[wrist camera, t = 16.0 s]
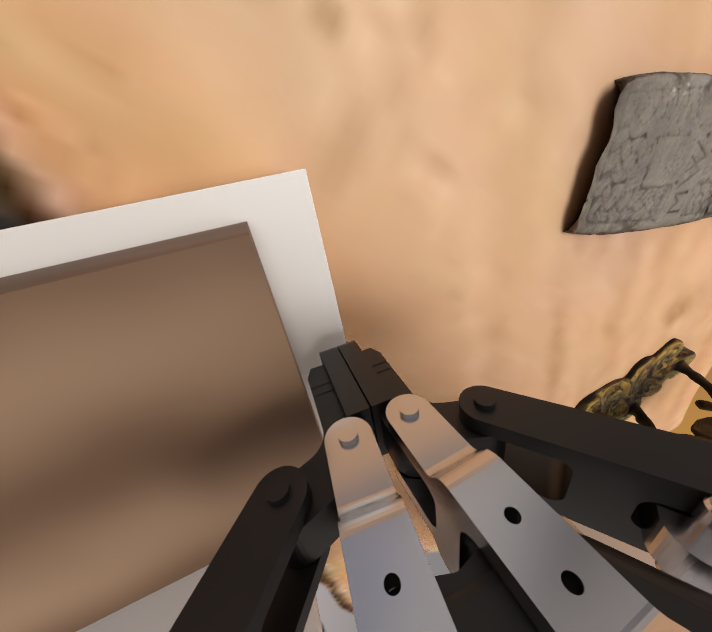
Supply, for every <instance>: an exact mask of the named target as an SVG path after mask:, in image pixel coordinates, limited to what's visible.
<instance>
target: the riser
mask: <svg viewBox="0 0 712 632" xmlns="http://www.w3.org/2000/svg"><path fill="white" fill-rule="evenodd" d="M246 221H247V223H248V226H249V228H250V231H251V234H252V237H253V240H254V243H255V245H256V248H257V251H258V254H259V257H260V260H261V262H262V265H263V268H264V271H265V274H266V277H267V280H268V282H269V285H270V288H271V291H272V294H273V297H274V299H275V302H276V305H277V308H278V311H279V314H280V316H281V319H282V322H283V325H284V328H285V331H286V333H287V336H288V339H289V342H290V345H291V348H292V351H293V353H294V356H295V359H296V362H297V365H298V368H299V370H300V373H301V376H302V379H303V382H304V385H305V387H306V390H307V393H308V396H309V399H310V402H311V404H312V407H313V410H314V413H315V416H316V419H317V422H318V424H319V427H320V430H321V433H322V436H323V428H322V425H321V422H320V418H319V415H318V412H317V408H316V405H315V402H314V398H313V395H312V392H311V389H310V385H309V382H308V376H309V372H310V369H312V368H315V367H318V366H321V365H322V362H321V359H320V355H319V352H322V351H325V350H328V349H331V348H334V347H337V346H340V345H343V344H346V343H347V342H346V338H345V334H344V330H343V326H342V321H341V317H340V313H339V309H338V304H337V300H336V296H335V292H334V288H333V283H332V279H331V275H330V271H329V267H328V262H327V258H326V254H325V250H324V245H323V241H322V237H321V233H320V229H319V224H318V220H317V216H316V212H315V207H314V203H313V199H312V195H311V191H310V186H309V182H308V178H307V174H306V170H305V169H300V170H295V171H290V172H285V173H280V174H275V175H270V176H265V177H260V178H255V179H250V180H245V181H240V182H235V183H231V184H226V185H221V186H216V187H211V188H206V189H201V190H196V191H191V192H186V193H181V194H176V195H171V196H166V197H161V198H156V199H151V200H146V201H141V202H136V203H132V204H127V205H122V206H117V207H112V208H107V209H102V210H97V211H92V212H87V213H82V214H77V215H72V216H67V217H62V218H57V219H52V220H47V221H42V222H37V223H33V224H28V225H23V226H18V227H13V228H8V229H3V230H0V278H1V277H6V276H10V275H14V274H19V273H23V272H27V271H32V270H36V269H41V268H45V267H49V266H54V265H58V264H62V263H67V262H71V261H75V260H80V259H84V258H88V257H93V256H97V255H102V254H106V253H110V252H115V251H119V250H123V249H128V248H132V247H136V246H141V245H145V244H150V243H154V242H158V241H163V240H167V239H171V238H176V237H180V236H184V235H189V234H193V233H198V232H202V231H206V230H211V229H215V228H219V227H224V226H228V225H232V224H237V223H241V222H246Z"/></svg>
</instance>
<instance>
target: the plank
mask: <svg viewBox="0 0 712 632" xmlns="http://www.w3.org/2000/svg"><path fill="white" fill-rule="evenodd" d="M322 441H323V436H322V433H321V430H320V427H319V424H318V422H317V419H316V416H315V413H314V410H313V407H312V404H311V402H310V399H309V396H308V393H307V390H306V387H305V385H304V382H303V379H302V376H301V373H300V370H299V368H298V365H297V362H296V359H295V356H294V353H293V351H292V348H291V345H290V342H289V339H288V336H287V333H286V331H285V328H284V325H283V322H282V319H281V316H280V314H279V311H278V308H277V305H276V302H275V299H274V297H273V294H272V291H271V288H270V285H269V282H268V280H267V277H266V274H265V271H264V268H263V265H262V262H261V260H260V257H259V254H258V251H257V248H256V245H255V243H254V240H253V237H252V234H251V231H250V228H249V226H248V223H247V221H246V222H241V223H237V224H232V225H228V226H224V227H219V228H215V229H211V230H206V231H202V232H198V233H193V234H189V235H184V236H180V237H176V238H171V239H167V240H163V241H158V242H154V243H150V244H145V245H141V246H136V247H132V248H128V249H123V250H119V251H115V252H110V253H106V254H102V255H97V256H93V257H88V258H84V259H80V260H75V261H71V262H67V263H62V264H58V265H54V266H49V267H45V268H41V269H36V270H32V271H27V272H23V273H19V274H14V275H10V276H6V277H1V278H0V632H77V631H79V630H81V629H83V628H85V627H87V626H89V625H91V624H93V623H95V622H96V621H98V620H100V619H102V618H104V617H106V616H108V615H110V614H112V613H114V612H116V611H118V610H120V609H122V608H124V607H126V606H128V605H130V604H132V603H134V602H136V601H138V600H140V599H142V598H144V597H146V596H148V595H150V594H152V593H154V592H156V591H158V590H160V589H162V588H164V587H166V586H168V585H170V584H172V583H174V582H176V581H178V580H180V579H182V578H184V577H186V576H188V575H190V574H192V573H194V572H196V571H198V570H200V569H202V568H204V567H206V566H208V565H209V564H210V563H211V561H212V559H213V558H214V556H215V554H216V553H217V551H218V549H219V548H220V546H221V544H222V543H223V541H224V539H225V538H226V536H227V534H228V533H229V531H230V529H231V528H232V526H233V524H234V523H235V521H236V519H237V518H238V516H239V514H240V513H241V511H242V509H243V508H244V506H245V504H246V503H247V501H248V499H249V498H250V496H251V494H252V493H253V491H254V489H255V488H256V486H257V485H258V483H259V482H260V481H261V479H262V478H263V477H264V476H265V475H267V474H268V473H269V472H271V471H272V470H274V469H276V468H278V467H282V466H294V467H297V468H300V467H301V466H302V465H304V464H305V463H306V462H307V461H308V460H310V459H311V458H312V457H313V456H314V455H315V454H316V453H317V451H318V450H319V448H320V446H321V444H322Z"/></svg>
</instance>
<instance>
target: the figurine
mask: <svg viewBox="0 0 712 632" xmlns="http://www.w3.org/2000/svg"><path fill="white" fill-rule="evenodd" d="M683 346H684V344H683V342H682V341H681V340H679V339H676V338H674V339H672V340H670V341H669V342H668V343H667V344H666V345H664V346H663V347H662V348H661V349H660V350H658V351H657V352H656V353H655V355H653V356H648V357H645V358H643V359H642V360H640V361H639V362H638V363H637V364H636V365H635V366H634V367H633V368H632V369H631V370H630V372H629V373H628V374H627V375H626V376H625V377H623V378H620V379H617V380H614V381H612V382H610V383H608V384H607V385H605V386H603V387H602V388H600V389H598V390H597V391H595V392H594V393H592V394H590V395H589V396H587V397H586V398H585V399H583V400H582V401H581V402H580V403H579V404H578V405H577V406H576V409H580V410H584V411H588V412H592V413H596V414H600V415H604V416H608V417H612V418H616V419H620V420H624V421H626V420H627V419H628V418H630V417H631V416H632V415H633V416H635V417H636V418H635V420H636V422H637V423H639V424H640V425H644V426H648V427H652V428H656V427H655V425H654V424H653V422H652V421H651V420H650V419H649V418H648V417H647V415H646V414H645V413H644V411H643V410H642V409H641V407H640V405H641V397H642V396H651V395H653V394H655V393H656V392H658V391H659V390H660V389H661V387H662V383H663V382H664V381H665V380H667V379H671V378H673V377H675V376H676V375H678V374H679V373H680V372H681V373H684V374H686V375H687V376H688V377H689V378H690V379H691V380H693V381H694V382H696V383H697V384H699V385H700V386H702V387H703V388H704V389H705V390H706V391H707V392H708V394H709V395H710V396H711V398H712V384H711V383H710V382H709V381H707V380H706V379H705V378H704V377H703V376H702V375H701V374H699V373H697V372H695V371H693V370H692V369H691V368H690V366H689V365H688V364H690V363H691V362H692V361H693V360H694V358H695V356H696V354H695V352H693V351H691V350H689V349H687V348H686V347H683ZM695 404H696V406H697V407H698V408H699V409H702V410H708V411H712V403H711V402H709V401H704V400H698V401H696V402H695ZM691 431H692V432H693V434H694V435H695V436H693V435H688V434H680V435H684V436H688V437H692V438H696V439H700V440H704V441H708V442H712V417H707V418H703V419H699V420H697V421H696V422H695V423H694V424H693V425H692V426H691Z"/></svg>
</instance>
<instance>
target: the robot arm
mask: <svg viewBox="0 0 712 632" xmlns="http://www.w3.org/2000/svg"><path fill="white" fill-rule="evenodd" d="M319 355H320V359H321V362H322V365H321V366H318V367H315V368H312V369H310V372H309V376H308V382H309V385H310V389H311V392H312V395H313V398H314V402H315V405H316V408H317V412H318V415H319V418H320V422H321V425H322V428H323V441H322V444H321V446H320V448H319V450H318V451H317V453H316V454H315V455H314V456H313V457H312V458H311V459H310V460H308V461H307V462H306V463H305V464H304V465H302V466H301V467H300V468H297V467H294V466H282V467H278V468H276V469H274V470H272V471H271V472H269V473H268V474H267V475H265V476H264V477H263V478H262V479H261V481H260V482H259V483H258V485H257V486H256V488H255V489H254V491H253V493H252V494H251V496H250V498H249V499H248V501H247V503H246V504H245V506H244V508H243V509H242V511H241V513H240V514H239V516H238V518H237V519H236V521H235V523H234V524H233V526H232V528H231V529H230V531H229V533H228V534H227V536H226V538H225V539H224V541H223V543H222V544H221V546H220V548H219V549H218V551H217V553H216V554H215V556H214V558H213V559H212V561H211V563H210V564H209V566H208V568H207V569H206V571H205V573H204V574H203V576H202V578H201V579H200V581H199V583H198V584H197V586H196V588H195V589H194V591H193V593H192V594H191V596H190V598H189V599H188V601H187V603H186V604H185V606H184V608H183V609H182V611H181V613H180V614H179V616H178V618H177V619H176V621H175V623H174V624H173V626H172V628H171V629H170V631H169V632H303V631H304V628H305V625H306V622H307V619H308V616H309V613H310V610H311V607H312V604H313V601H314V597H315V594H316V591H317V588H318V585H319V582H320V579H321V576H322V573H323V570H324V567H325V564H326V561H327V557H328V554H329V551H330V546H331V545H332V544H333V543H334V542H335V540H336V539H337V538H338V537H339V536H340V541H341V546H342V551H343V557H344V562H345V567H346V573H347V578H348V583H349V589H350V594H351V599H352V605H353V610H354V615H355V620H356V626H357V631H358V632H712V442H708V441H704V440H700V439H696V438H692V437H688V436H684V435H680V434H676V433H672V432H668V431H664V430H660V429H656V428H652V427H648V426H644V425H640V424H636V423H632V422H628V421H624V420H620V419H616V418H612V417H608V416H604V415H600V414H596V413H592V412H588V411H584V410H580V409H576V408H572V407H568V406H564V405H560V404H556V403H551V402H547V401H543V400H539V399H535V398H531V397H527V396H523V395H519V394H515V393H511V392H507V391H503V390H499V389H495V388H491V387H487V386H472V387H469V388H467V389H465V390H464V391H463V392H462V393H461V394H460V397H459V401H454V402H445V403H430V402H428V401H427V400H426V399H424V398H423V397H421V396H418V395H414V394H412V393H411V391H410V390H409V389H408V387H407V386H406V385H405V384H404V382H403V381H402V380H401V379H400V377H399V376H398V375H397V373H396V372H395V371H394V370H393V369H392V368H391V366H390V365H389V363H388V362H387V361H386V359H385V358H384V357H383V356H382V354H381V353H380V352H378V351H376V350H374V349H372V348H369V349H366V350H363V351H361V349H360V348H359V346H358V345H357V343H356V342H355V341H351V342H348V343H346V344H343V345H340V346H337V347H334V348H331V349H328V350H325V351H322V352H319ZM387 453H389V454H390V456H391V458H392V460H393V462H394V467H395V472H396V475H397V477H398V478H399V480H400V482H401V483H402V485H403V487H404V488H405V490H406V492H407V493H408V495H409V496H410V498H411V500H412V501H413V503H414V505H415V506H416V508H417V510H418V511H419V513H420V515H421V516H422V518H423V519H424V521H425V523H426V524H427V526H428V528H429V529H430V531H431V533H432V535H433V537H434V539H435V541H436V544H437V547H438V549H439V552H440V554H441V556H442V558H443V560H444V562H445V564H446V566H447V568H448V570H449V571H450V574H445V575H439V576H434V574H433V571H432V569H431V567H430V564H429V562H428V559H427V557H426V554H425V552H424V549H423V547H422V544H421V542H420V540H419V537H418V535H417V532H416V530H415V527H414V525H413V522H412V520H411V517H410V515H409V513H408V510H407V508H406V506H405V503H404V501H403V499H402V497H401V496H400V495H398V493H397V491H396V489H395V487H394V484H393V482H392V479H391V477H390V474H389V472H388V469H387V467H386V464H385V462H384V459H383V457H382V455H385V454H387ZM569 519H571V520H573V521H575V522H577V523H580V524H582V525H585V526H587V527H589V528H592V529H594V530H596V531H599V532H601V533H604V534H606V535H608V536H610V537H613V538H615V539H618V540H620V541H622V542H625V543H627V544H629V545H632V546H635V547H636V548H639V549H641V550H644V551H646V552H648V553H650V555H651V556H652V557H653V559H654V560H655V565H656V568H654V567H652V566H650V565H648V564H646V563H643V562H641V561H639V560H637V559H635V558H633V557H631V556H629V555H627V554H624V553H622V552H620V551H618V550H616V549H614V548H612V547H609V546H607V545H605V544H603V543H601V542H599V541H597V540H594V539H592V538H590V537H588V536H585V535H584V534H583V533H582V532H581V531H580V530H579V529H578V528H577V527H576V526H575V525H574V524H573V523H572V522H571V521H570V520H569Z"/></svg>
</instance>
